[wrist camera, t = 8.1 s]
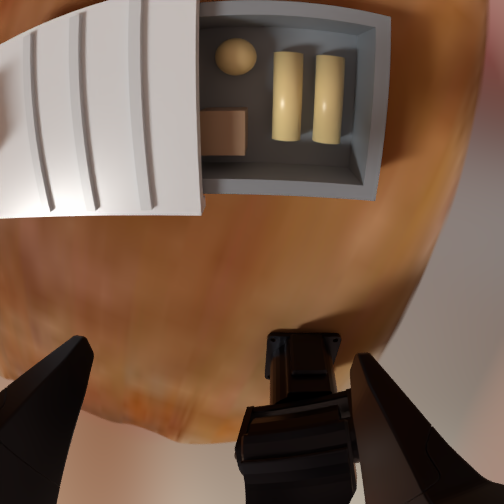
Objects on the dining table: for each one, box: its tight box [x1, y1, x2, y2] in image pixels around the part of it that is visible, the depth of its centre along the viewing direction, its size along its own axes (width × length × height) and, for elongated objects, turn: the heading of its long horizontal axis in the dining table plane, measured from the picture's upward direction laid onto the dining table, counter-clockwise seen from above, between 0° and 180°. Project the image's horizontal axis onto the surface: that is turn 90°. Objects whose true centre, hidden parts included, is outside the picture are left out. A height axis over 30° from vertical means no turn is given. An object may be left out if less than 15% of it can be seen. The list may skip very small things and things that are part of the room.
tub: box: [199, 0, 391, 201], centre depth 15 cm, size 10×14×4 cm
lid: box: [0, 0, 206, 218], centre depth 11 cm, size 12×16×5 cm
